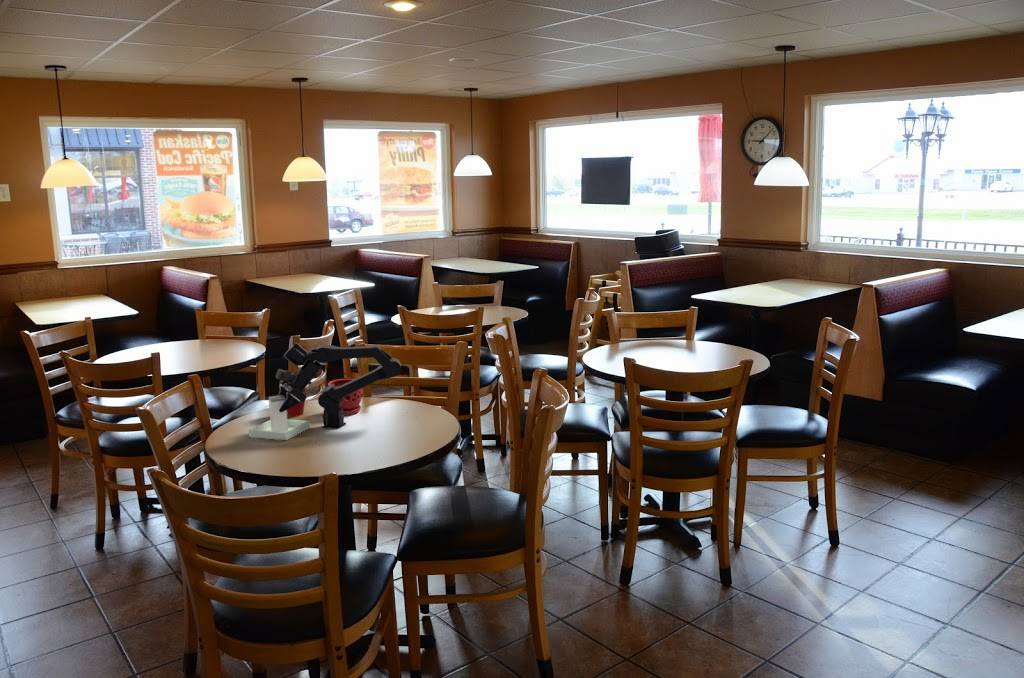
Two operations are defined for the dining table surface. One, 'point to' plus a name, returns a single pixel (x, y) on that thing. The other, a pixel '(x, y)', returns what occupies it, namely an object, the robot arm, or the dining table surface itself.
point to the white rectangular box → (277, 414)
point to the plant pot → (349, 398)
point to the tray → (265, 432)
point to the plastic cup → (297, 407)
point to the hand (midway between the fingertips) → (277, 408)
